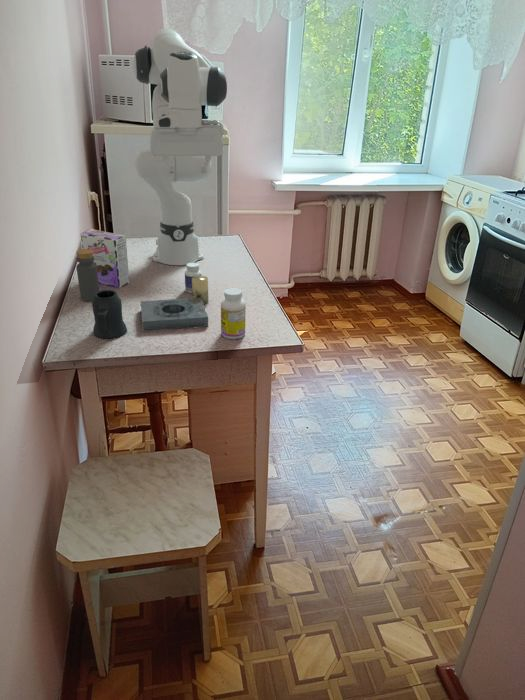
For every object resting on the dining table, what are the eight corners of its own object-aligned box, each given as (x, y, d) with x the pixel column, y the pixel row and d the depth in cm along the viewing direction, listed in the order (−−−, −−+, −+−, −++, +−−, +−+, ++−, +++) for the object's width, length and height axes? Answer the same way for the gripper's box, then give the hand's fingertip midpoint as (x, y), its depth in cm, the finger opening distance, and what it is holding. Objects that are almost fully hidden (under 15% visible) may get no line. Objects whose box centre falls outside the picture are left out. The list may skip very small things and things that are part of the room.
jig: (141, 310, 158) (140, 301, 156) (201, 306, 162) (201, 297, 160) (143, 331, 146) (142, 321, 144) (208, 326, 150) (208, 317, 148)
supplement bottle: (221, 329, 149) (220, 286, 142) (244, 329, 149) (245, 286, 143) (221, 340, 143) (220, 296, 137) (245, 340, 143) (246, 296, 137)
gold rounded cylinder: (191, 300, 166) (191, 276, 162) (207, 299, 167) (206, 275, 163) (193, 306, 162) (192, 281, 158) (209, 305, 163) (208, 280, 159)
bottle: (104, 297, 166) (98, 250, 158) (89, 303, 161) (82, 255, 154) (92, 292, 168) (85, 247, 161) (76, 298, 164) (69, 251, 157)
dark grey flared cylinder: (97, 324, 149) (92, 287, 144) (129, 324, 150) (126, 287, 144) (86, 344, 138) (81, 305, 133) (122, 344, 139) (118, 305, 134)
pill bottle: (198, 294, 170) (198, 268, 166) (183, 292, 171) (182, 266, 166) (203, 288, 174) (203, 262, 170) (188, 286, 175) (187, 261, 171)
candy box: (85, 281, 177) (79, 232, 169) (97, 275, 182) (91, 228, 174) (119, 288, 172) (114, 239, 164) (130, 282, 177) (126, 234, 169)
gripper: (221, 119, 150) (221, 170, 156) (147, 118, 145) (151, 171, 152) (225, 121, 144) (225, 174, 151) (148, 120, 140) (152, 175, 146)
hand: (187, 172), depth 151 cm, fingers open, 8 cm apart
